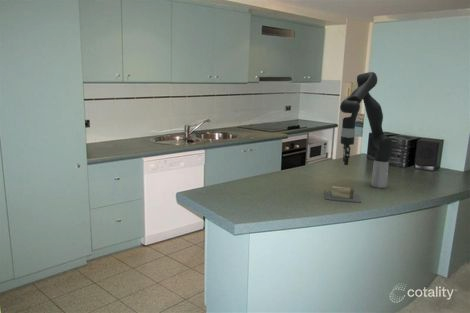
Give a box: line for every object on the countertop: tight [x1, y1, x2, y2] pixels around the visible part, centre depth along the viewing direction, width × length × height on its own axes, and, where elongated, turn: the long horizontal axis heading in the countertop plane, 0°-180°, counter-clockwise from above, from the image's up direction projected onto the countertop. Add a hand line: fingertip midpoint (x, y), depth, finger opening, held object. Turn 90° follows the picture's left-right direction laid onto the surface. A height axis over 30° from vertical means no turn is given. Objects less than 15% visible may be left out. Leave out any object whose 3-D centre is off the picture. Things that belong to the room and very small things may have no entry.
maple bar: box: [331, 186, 355, 198], centre depth 238 cm, size 4×12×5 cm, turn 79°
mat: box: [324, 191, 362, 204], centre depth 238 cm, size 20×15×1 cm
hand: (345, 163), depth 236 cm, fingers open, 8 cm apart
